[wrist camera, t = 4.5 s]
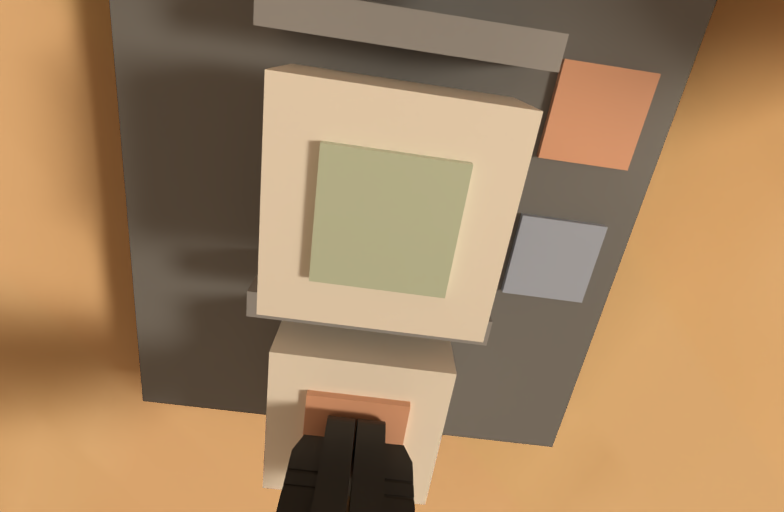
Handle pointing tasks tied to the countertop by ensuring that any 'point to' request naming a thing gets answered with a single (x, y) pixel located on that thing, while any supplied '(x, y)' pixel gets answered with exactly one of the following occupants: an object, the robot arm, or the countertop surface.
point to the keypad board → (408, 63)
